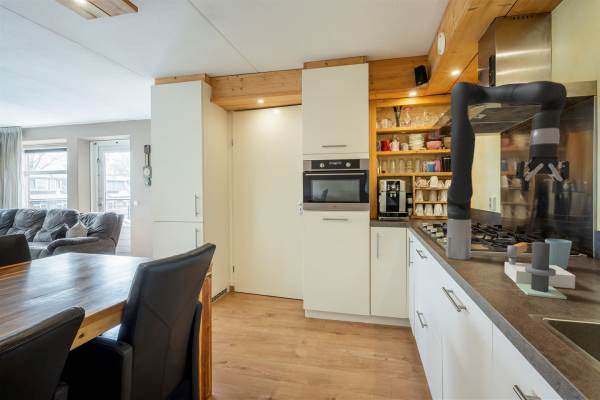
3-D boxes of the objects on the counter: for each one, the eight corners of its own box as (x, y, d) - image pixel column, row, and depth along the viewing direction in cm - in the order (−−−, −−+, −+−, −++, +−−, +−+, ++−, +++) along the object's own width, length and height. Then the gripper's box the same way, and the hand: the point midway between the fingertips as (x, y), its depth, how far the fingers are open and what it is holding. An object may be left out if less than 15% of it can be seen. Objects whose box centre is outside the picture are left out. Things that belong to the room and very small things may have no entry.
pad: (527, 295, 83) (527, 293, 83) (516, 285, 92) (516, 283, 92) (566, 299, 80) (566, 297, 80) (551, 288, 88) (551, 286, 88)
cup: (574, 271, 105) (575, 243, 105) (547, 268, 109) (548, 241, 108) (566, 266, 112) (567, 239, 112) (541, 263, 116) (542, 238, 115)
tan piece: (515, 257, 99) (515, 247, 99) (506, 256, 102) (506, 246, 101) (528, 251, 108) (528, 242, 108) (519, 250, 110) (519, 241, 110)
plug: (530, 292, 84) (531, 244, 83) (521, 284, 90) (522, 240, 90) (560, 295, 81) (561, 246, 81) (548, 286, 88) (549, 241, 87)
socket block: (516, 283, 93) (516, 263, 93) (504, 272, 104) (504, 255, 104) (574, 288, 88) (575, 268, 88) (555, 276, 99) (556, 258, 99)
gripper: (525, 142, 93) (521, 192, 94) (577, 141, 90) (573, 193, 91) (513, 145, 101) (510, 191, 102) (561, 145, 97) (558, 192, 98)
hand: (540, 192), depth 96 cm, fingers open, 8 cm apart
